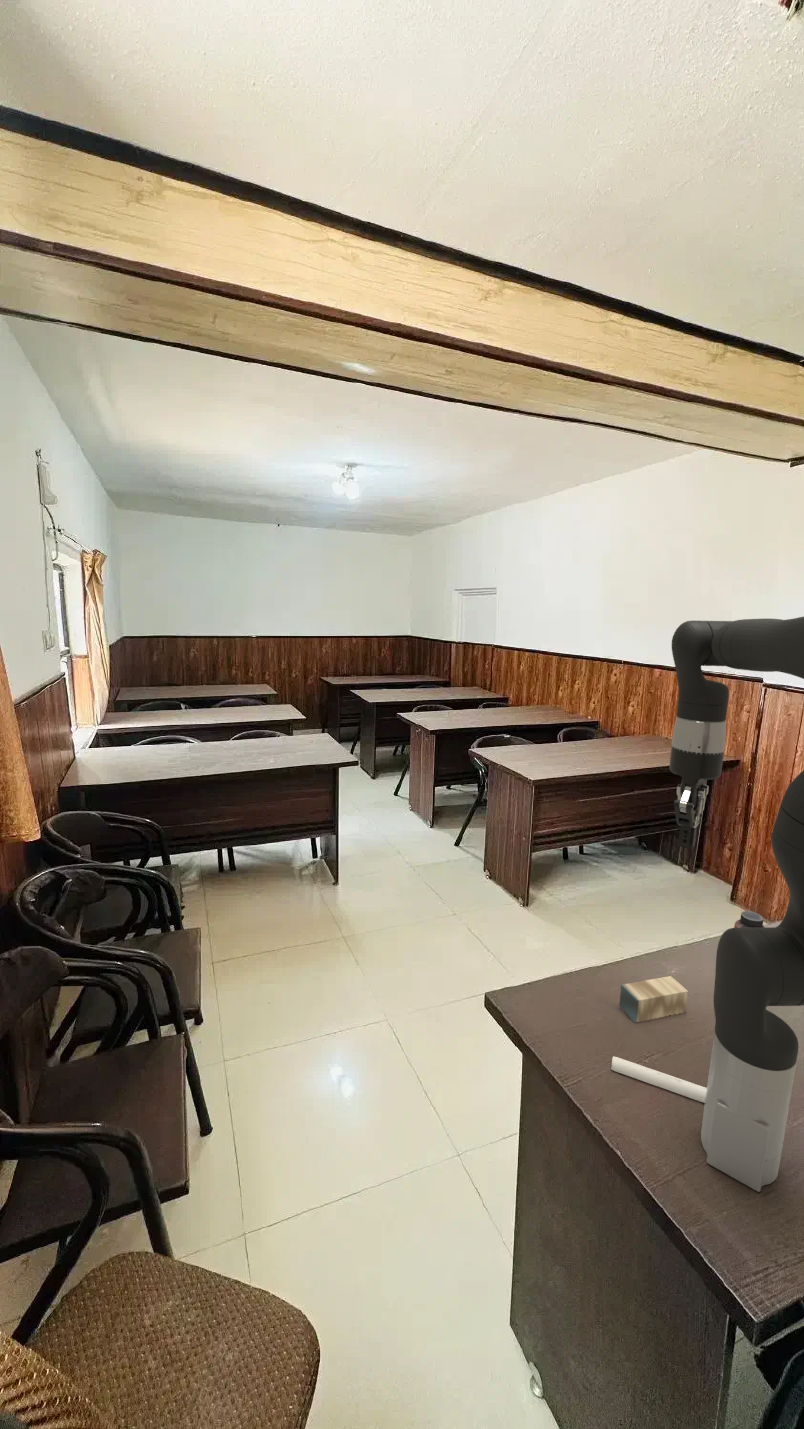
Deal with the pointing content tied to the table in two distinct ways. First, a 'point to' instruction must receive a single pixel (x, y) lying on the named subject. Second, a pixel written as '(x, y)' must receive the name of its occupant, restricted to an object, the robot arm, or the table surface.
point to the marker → (659, 1079)
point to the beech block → (653, 998)
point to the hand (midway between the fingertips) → (686, 846)
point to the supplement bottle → (749, 920)
